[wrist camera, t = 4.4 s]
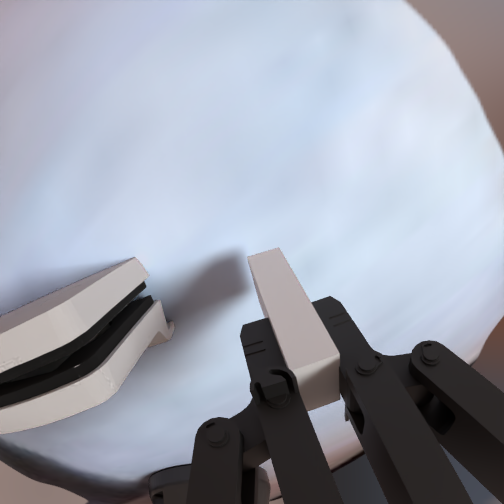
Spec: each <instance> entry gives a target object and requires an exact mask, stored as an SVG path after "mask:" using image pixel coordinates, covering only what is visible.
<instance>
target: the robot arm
mask: <svg viewBox="0 0 504 504" xmlns="http://www.w3.org/2000/svg"><path fill="white" fill-rule="evenodd" d="M247 259H248V263H249V266H250V270H251V274H252V277H253V281H254V285H255V288H256V292H257V295H258V299H259V303H260V305H261V308H262V311H263V314H264V317H265V318H264V319H261V320H258V321H255V322H251V323H248V324H245V325H243V326H242V330H241V334H240V338H241V342H242V346H243V350H244V354H245V358H246V362H247V366H248V370H249V374H250V378H251V383H250V392H251V395H252V397H253V398H252V400H251V402H250V404H249V405H248V406H247V407H246V408H245V409H244V410H243V411H241V412H240V413H238V414H237V415H235V416H233V417H232V418H230V419H228V418H222V417H217V418H212V419H210V420H208V421H206V422H204V423H203V424H202V425H201V426H200V427H199V429H198V431H197V434H196V437H195V443H194V450H193V457H192V464H191V465H187V466H180V467H175V468H170V469H167V470H163V471H160V472H158V473H156V474H154V475H152V476H151V477H150V478H149V495H150V498H151V501H152V503H153V504H269V498H270V483H269V479H268V475H267V472H266V471H265V470H264V469H263V468H260V467H259V465H260V464H262V463H264V462H265V461H267V460H268V459H270V458H271V460H272V464H273V467H274V471H275V474H276V477H277V481H278V484H279V487H280V491H281V494H282V497H283V501H284V504H344V503H343V501H342V498H341V496H340V493H339V491H338V488H337V486H336V483H335V481H334V478H333V476H332V473H331V471H330V468H329V466H328V463H327V461H326V458H325V456H324V453H323V451H322V448H321V446H320V443H319V441H318V438H317V435H316V433H315V430H314V428H313V425H312V423H311V420H310V418H309V415H308V413H307V411H310V410H313V409H316V408H319V407H322V406H324V405H327V404H330V403H332V402H335V401H338V400H340V393H341V395H342V397H343V400H344V402H345V421H349V420H350V422H351V424H352V426H353V428H354V430H355V432H356V434H357V437H358V439H359V441H360V443H361V445H362V447H363V449H364V452H365V454H366V456H367V458H368V460H369V462H370V464H371V466H372V469H373V471H374V473H375V475H376V477H377V480H378V482H379V484H380V486H381V488H382V490H383V492H384V495H385V497H386V499H387V501H388V503H389V504H473V503H472V501H471V499H470V497H469V495H468V493H467V491H466V490H465V488H464V486H463V484H462V482H461V480H460V479H459V477H458V475H457V473H456V472H455V470H454V468H453V466H452V465H451V463H450V461H449V459H448V458H447V456H446V454H445V452H444V451H443V449H442V447H441V446H440V444H441V445H442V446H443V447H444V448H445V449H446V450H447V451H448V452H449V453H450V454H451V455H452V456H453V457H454V458H455V459H456V460H457V461H458V462H460V463H461V464H462V465H463V466H464V467H465V468H466V469H467V470H468V471H469V472H470V473H471V474H472V475H473V476H474V477H475V478H476V479H477V480H478V481H479V482H480V483H481V484H482V485H483V486H484V487H486V488H487V489H488V490H489V491H490V492H491V493H492V494H493V495H494V496H495V497H496V498H497V499H498V500H499V501H500V502H501V503H502V504H504V393H503V392H502V391H501V390H499V389H498V388H497V387H496V386H495V385H493V384H492V383H491V382H490V381H488V380H487V379H486V378H485V377H483V376H482V375H480V374H479V373H478V372H477V371H476V370H475V369H473V368H472V367H471V366H470V365H468V364H467V363H466V362H464V361H463V360H462V359H461V358H459V357H458V356H457V355H455V354H454V353H453V352H452V351H450V350H449V349H448V348H446V347H445V346H444V345H442V344H440V343H439V342H437V341H430V340H429V341H423V342H421V343H419V344H417V345H416V346H415V347H414V349H413V350H412V353H409V354H403V355H396V356H387V355H382V354H381V353H379V352H377V351H374V350H373V349H372V348H371V347H370V345H369V344H368V342H367V341H366V339H365V338H364V336H363V335H362V333H361V332H360V330H359V329H358V327H357V326H356V324H355V323H354V321H353V320H352V318H351V317H350V315H349V314H348V313H347V311H346V309H345V308H344V307H343V305H342V304H341V302H339V301H338V300H336V299H334V298H333V297H331V296H329V297H326V298H323V299H320V300H317V301H314V302H310V300H309V298H308V296H307V295H306V293H305V291H304V289H303V288H302V286H301V284H300V282H299V281H298V279H297V277H296V275H295V274H294V272H293V270H292V269H291V267H290V265H289V263H288V262H287V260H286V258H285V257H284V255H283V253H282V251H281V250H280V248H279V247H278V248H275V249H272V250H268V251H265V252H262V253H258V254H255V255H252V256H248V257H247ZM439 443H440V444H439Z"/></svg>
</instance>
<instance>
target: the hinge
mask: <svg viewBox="0 0 504 504" xmlns="http://www.w3.org/2000/svg"><path fill="white" fill-rule="evenodd" d="M149 276H150V275H149V274H148V272H147V271H146V269H145V268H144V267H143V265H142V264H141V263H140V261H139V260H138V259H137V258H136V257H134V258H131V259H129V260H127V261H124V262H122V263H119V264H117V265H115V266H112V267H110V268H107V269H105V270H103V271H100V272H98V273H96V274H93V275H91V276H89V277H86V278H84V279H82V280H80V281H77V282H75V283H73V284H70V285H68V286H66V287H64V288H61V289H59V290H57V291H55V292H52V293H50V294H48V295H46V296H44V297H41V298H39V299H37V300H35V301H33V302H30V303H28V304H26V305H24V306H22V307H20V308H18V309H15V310H13V311H11V312H9V313H7V314H5V315H3V316H1V317H0V434H7V433H13V432H18V431H23V430H27V429H31V428H35V427H39V426H43V425H46V424H49V423H52V422H55V421H58V420H61V419H64V418H67V417H70V416H72V415H75V414H77V413H80V412H82V411H85V410H87V409H90V408H92V407H95V406H97V405H99V404H101V403H103V402H105V401H106V400H108V399H109V398H110V397H111V396H113V395H114V394H115V393H116V392H117V391H118V389H119V388H120V386H121V385H122V383H123V382H124V380H125V379H126V377H127V376H128V374H129V373H130V371H131V370H132V369H133V367H134V366H135V364H136V363H137V361H138V360H139V358H140V357H141V355H142V354H143V352H144V351H145V350H146V348H148V347H151V346H154V345H157V344H160V343H163V342H167V341H170V340H171V337H172V335H173V332H174V329H175V326H174V323H173V321H171V322H168V323H166V319H165V316H164V312H163V308H162V304H161V300H160V299H159V300H156V301H153V300H152V297H151V295H149V296H147V297H144V298H141V299H139V300H136V301H133V302H131V301H132V300H133V299H134V298H135V297H136V296H137V295H138V294H139V293H141V292H142V291H143V290H144V289H145V288H146V284H145V282H144V280H145V279H147V278H148V277H149ZM130 302H131V303H130Z"/></svg>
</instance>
